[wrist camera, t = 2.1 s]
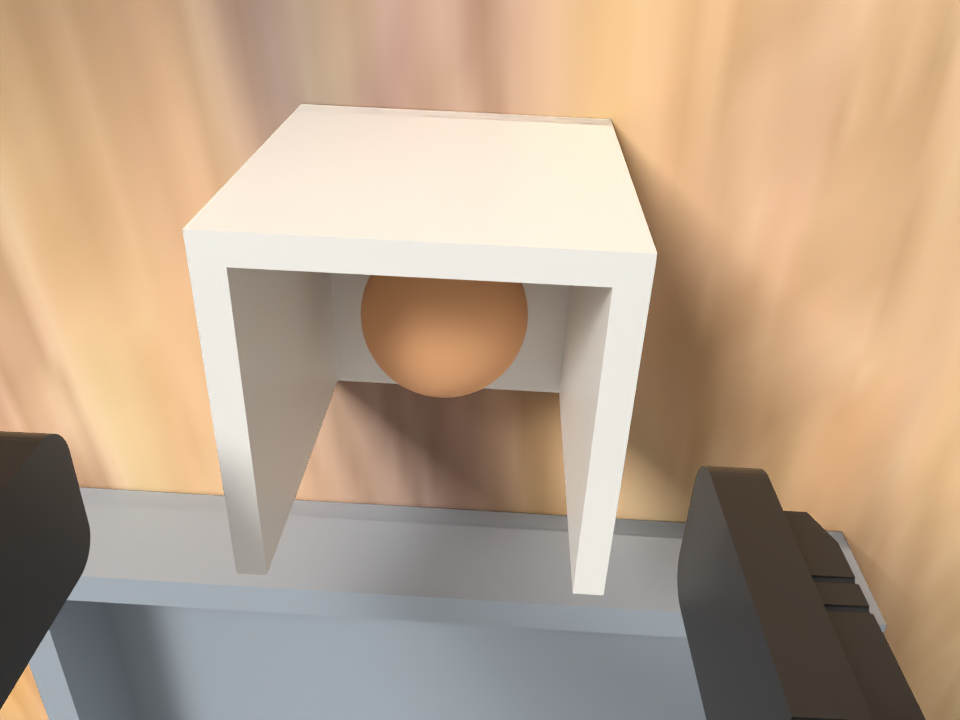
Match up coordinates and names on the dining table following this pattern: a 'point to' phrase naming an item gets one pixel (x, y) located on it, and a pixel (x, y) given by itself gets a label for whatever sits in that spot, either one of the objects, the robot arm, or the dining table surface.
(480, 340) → the ball
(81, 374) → the dining table surface
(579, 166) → the white cube stool
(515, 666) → the tray
